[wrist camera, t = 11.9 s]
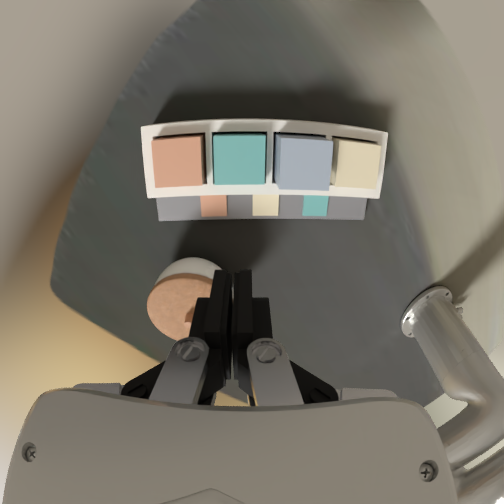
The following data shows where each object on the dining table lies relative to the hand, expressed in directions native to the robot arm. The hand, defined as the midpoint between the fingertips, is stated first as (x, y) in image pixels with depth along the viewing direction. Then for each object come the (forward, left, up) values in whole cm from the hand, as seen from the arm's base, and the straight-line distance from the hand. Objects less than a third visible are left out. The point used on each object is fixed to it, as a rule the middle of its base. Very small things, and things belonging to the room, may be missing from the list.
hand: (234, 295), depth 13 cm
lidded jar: (+6, +14, -21) cm, 26 cm away
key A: (+6, -3, -21) cm, 22 cm away
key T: (0, -3, -21) cm, 21 cm away
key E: (-12, -3, -21) cm, 24 cm away
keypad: (-3, -1, -21) cm, 21 cm away
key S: (-6, -3, -19) cm, 20 cm away
